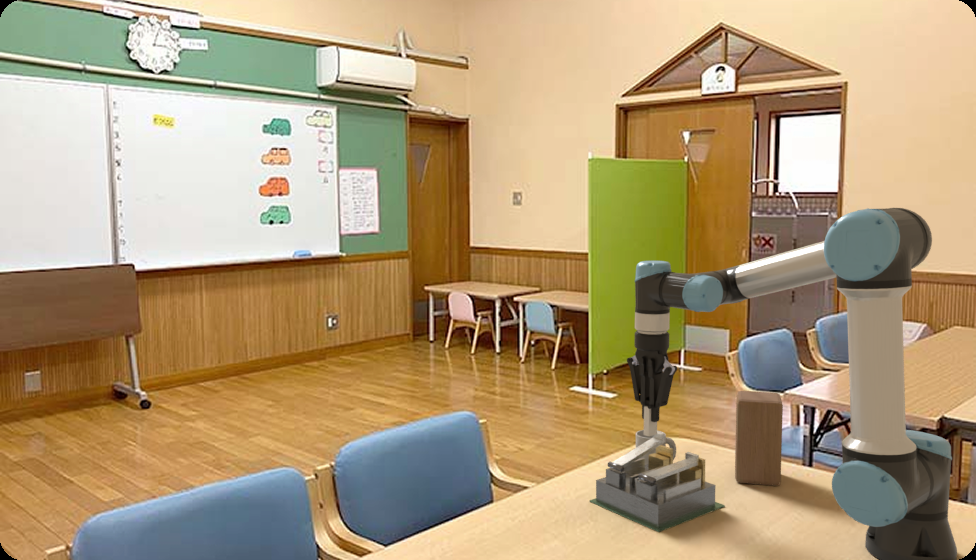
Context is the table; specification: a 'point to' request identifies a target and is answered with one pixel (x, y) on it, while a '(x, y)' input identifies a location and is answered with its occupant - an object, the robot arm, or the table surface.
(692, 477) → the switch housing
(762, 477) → the wooden block
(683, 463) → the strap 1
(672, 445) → the cup
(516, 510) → the table surface
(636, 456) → the silver long flat bar
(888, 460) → the robot arm
